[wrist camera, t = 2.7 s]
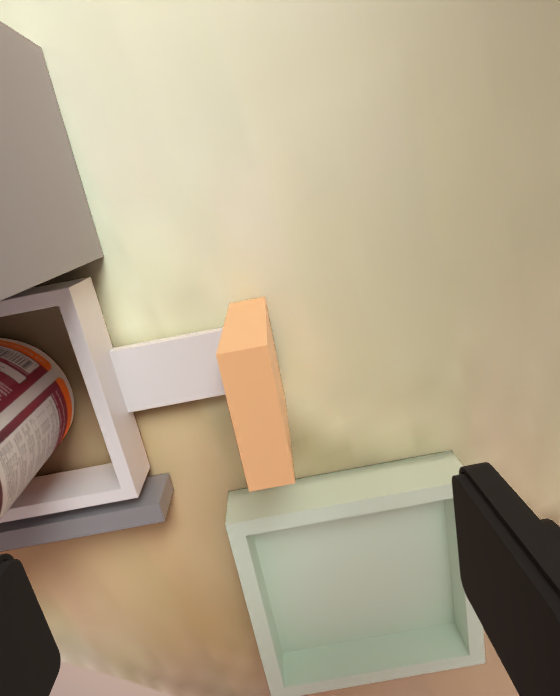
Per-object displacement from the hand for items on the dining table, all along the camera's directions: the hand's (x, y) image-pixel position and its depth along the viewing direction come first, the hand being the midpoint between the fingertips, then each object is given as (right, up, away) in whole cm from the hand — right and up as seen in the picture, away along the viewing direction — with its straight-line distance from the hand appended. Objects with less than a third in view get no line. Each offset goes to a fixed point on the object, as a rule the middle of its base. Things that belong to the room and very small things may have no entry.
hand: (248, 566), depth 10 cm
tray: (+5, -7, +16) cm, 18 cm away
